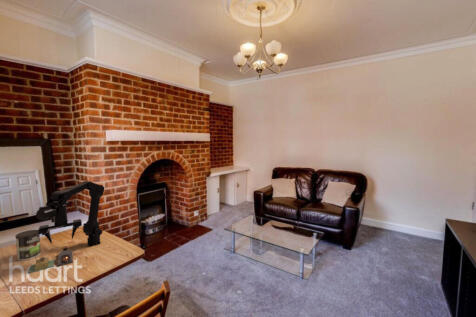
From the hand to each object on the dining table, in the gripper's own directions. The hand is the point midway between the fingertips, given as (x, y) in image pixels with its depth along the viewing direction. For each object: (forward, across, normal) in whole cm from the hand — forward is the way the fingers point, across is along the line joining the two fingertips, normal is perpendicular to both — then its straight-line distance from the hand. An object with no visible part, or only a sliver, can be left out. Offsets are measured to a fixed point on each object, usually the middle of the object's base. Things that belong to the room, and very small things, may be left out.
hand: (62, 240), depth 122 cm
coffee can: (+12, +16, -19) cm, 28 cm away
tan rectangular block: (+11, +9, 0) cm, 14 cm away
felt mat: (+12, +9, 0) cm, 15 cm away
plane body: (+12, -1, -2) cm, 12 cm away
